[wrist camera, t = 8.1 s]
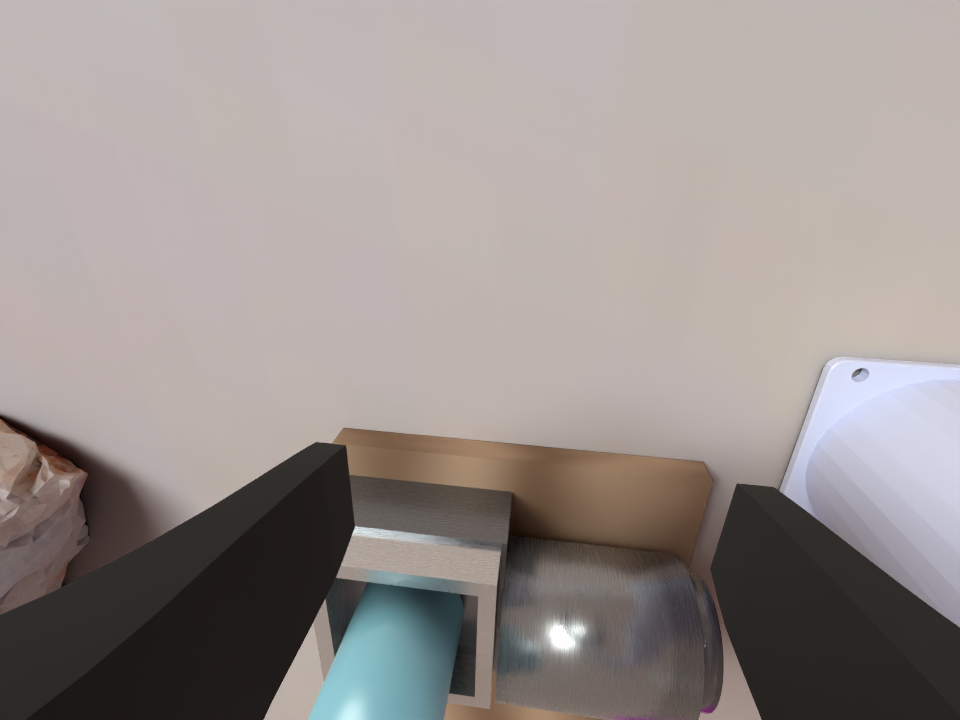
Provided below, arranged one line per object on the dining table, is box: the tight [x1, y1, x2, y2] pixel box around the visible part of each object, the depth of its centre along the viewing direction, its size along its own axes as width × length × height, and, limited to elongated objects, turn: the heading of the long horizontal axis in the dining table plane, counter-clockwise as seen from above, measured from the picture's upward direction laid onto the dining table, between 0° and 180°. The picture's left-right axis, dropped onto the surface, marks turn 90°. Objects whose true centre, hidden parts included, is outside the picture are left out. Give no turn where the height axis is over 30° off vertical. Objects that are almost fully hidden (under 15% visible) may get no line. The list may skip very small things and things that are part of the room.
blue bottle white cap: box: [308, 582, 464, 720], centre depth 15 cm, size 4×4×6 cm
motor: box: [314, 475, 723, 720], centre depth 18 cm, size 14×7×6 cm, turn 89°
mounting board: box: [332, 428, 713, 720], centre depth 23 cm, size 15×20×1 cm
